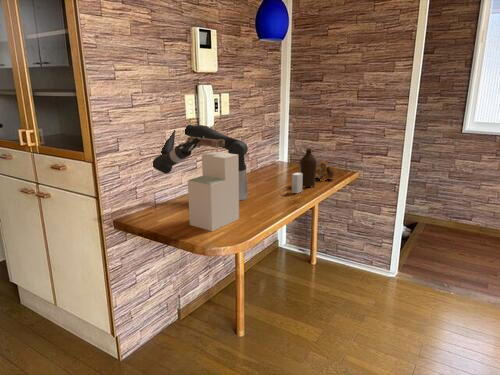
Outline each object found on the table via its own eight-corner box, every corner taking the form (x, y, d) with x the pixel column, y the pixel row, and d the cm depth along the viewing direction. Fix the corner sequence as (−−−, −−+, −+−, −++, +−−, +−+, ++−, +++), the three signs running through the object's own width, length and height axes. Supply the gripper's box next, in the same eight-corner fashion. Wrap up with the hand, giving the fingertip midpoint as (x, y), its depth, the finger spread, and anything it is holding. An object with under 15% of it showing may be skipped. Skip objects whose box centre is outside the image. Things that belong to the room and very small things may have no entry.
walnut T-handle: (193, 142, 186) (193, 136, 185) (224, 146, 175) (224, 139, 174) (185, 143, 181) (185, 137, 180) (216, 147, 170) (216, 141, 169)
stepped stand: (217, 213, 190) (215, 151, 182) (239, 218, 182) (238, 154, 174) (189, 224, 174) (186, 158, 166) (212, 231, 167) (209, 161, 158)
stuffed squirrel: (312, 178, 262) (313, 160, 258) (331, 177, 264) (332, 159, 260) (317, 181, 252) (318, 162, 249) (337, 181, 254) (338, 162, 251)
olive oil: (317, 184, 244) (318, 147, 238) (313, 188, 235) (315, 149, 228) (301, 183, 248) (302, 146, 242) (297, 187, 239) (298, 148, 232)
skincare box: (296, 191, 230) (297, 172, 227) (302, 192, 227) (303, 173, 224) (291, 193, 225) (291, 174, 222) (297, 194, 223) (297, 175, 220)
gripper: (167, 148, 184) (188, 132, 173) (187, 144, 195) (208, 130, 184) (173, 161, 183) (194, 147, 173) (192, 157, 194) (214, 143, 184)
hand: (201, 138), depth 178 cm, fingers closed on walnut T-handle, 3 cm apart
